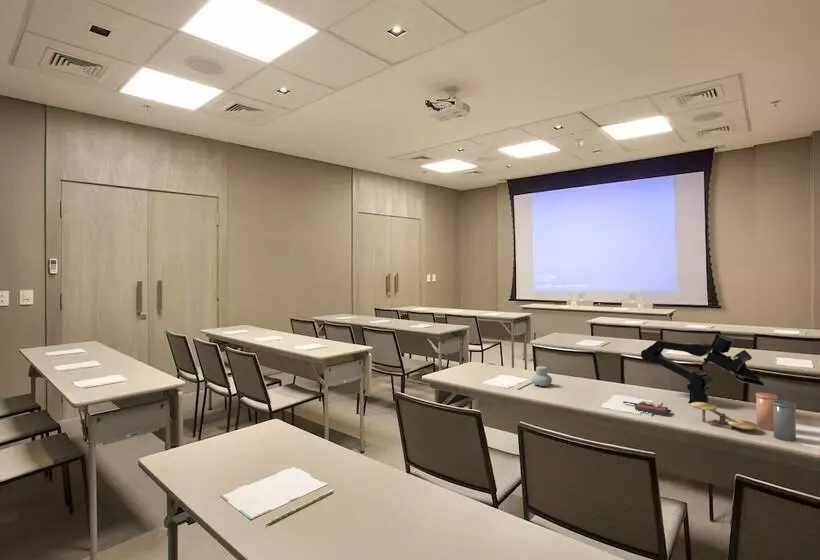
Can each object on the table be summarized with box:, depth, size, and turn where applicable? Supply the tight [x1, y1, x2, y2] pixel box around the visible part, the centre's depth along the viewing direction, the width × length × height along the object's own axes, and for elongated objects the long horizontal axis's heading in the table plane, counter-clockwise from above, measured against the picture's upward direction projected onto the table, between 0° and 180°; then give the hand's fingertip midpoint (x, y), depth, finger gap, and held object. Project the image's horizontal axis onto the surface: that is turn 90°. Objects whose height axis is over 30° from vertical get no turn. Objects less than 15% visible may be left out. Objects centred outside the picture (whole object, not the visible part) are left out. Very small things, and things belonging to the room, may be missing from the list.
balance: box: [690, 402, 757, 431], centre depth 176 cm, size 22×9×7 cm, turn 39°
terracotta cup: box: [755, 392, 778, 432], centre depth 172 cm, size 7×7×13 cm
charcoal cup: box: [773, 399, 797, 442], centre depth 162 cm, size 7×7×13 cm
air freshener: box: [531, 365, 553, 387], centre depth 243 cm, size 11×8×10 cm
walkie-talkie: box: [622, 400, 672, 417], centre depth 197 cm, size 9×4×20 cm
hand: (761, 382), depth 184 cm, fingers open, 9 cm apart
